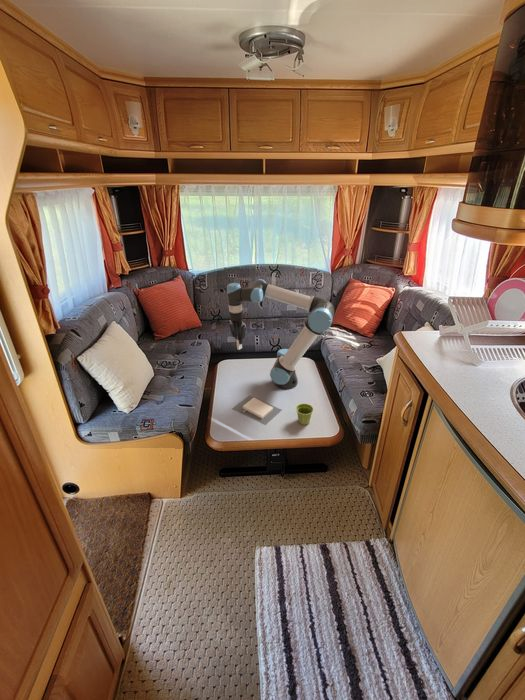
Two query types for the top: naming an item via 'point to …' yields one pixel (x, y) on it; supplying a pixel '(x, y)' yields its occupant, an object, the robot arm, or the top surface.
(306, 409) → the plant pot
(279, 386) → the robot arm
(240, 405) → the board
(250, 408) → the tile
